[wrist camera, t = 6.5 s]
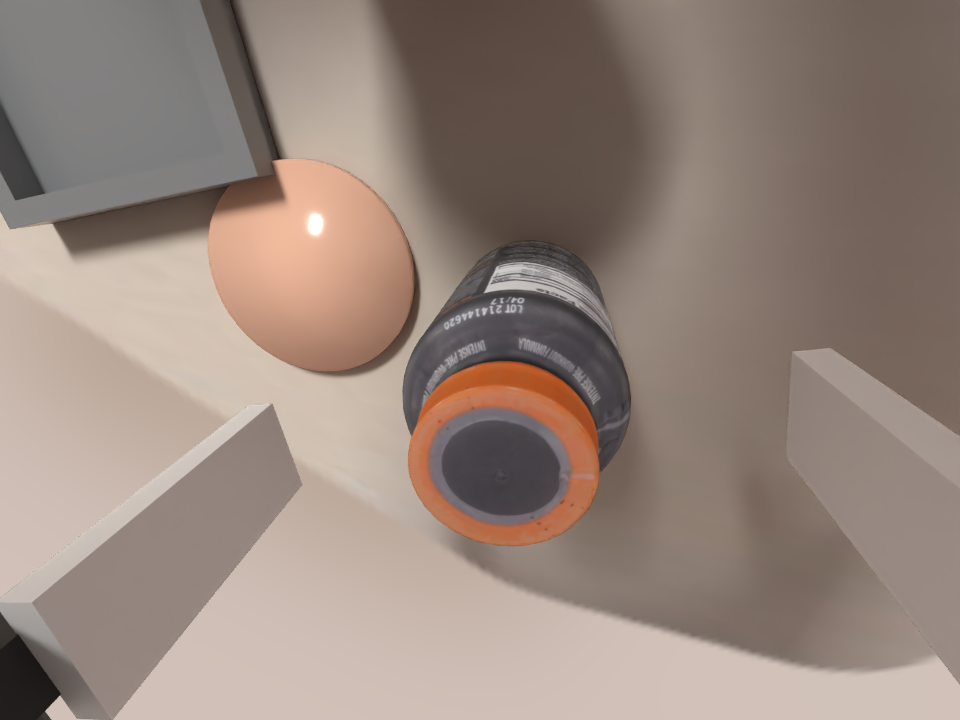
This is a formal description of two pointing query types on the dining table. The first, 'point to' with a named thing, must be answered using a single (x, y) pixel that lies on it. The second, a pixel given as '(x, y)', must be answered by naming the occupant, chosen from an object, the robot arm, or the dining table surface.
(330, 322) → the peach flat disc
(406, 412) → the pill bottle
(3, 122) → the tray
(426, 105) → the dining table surface
